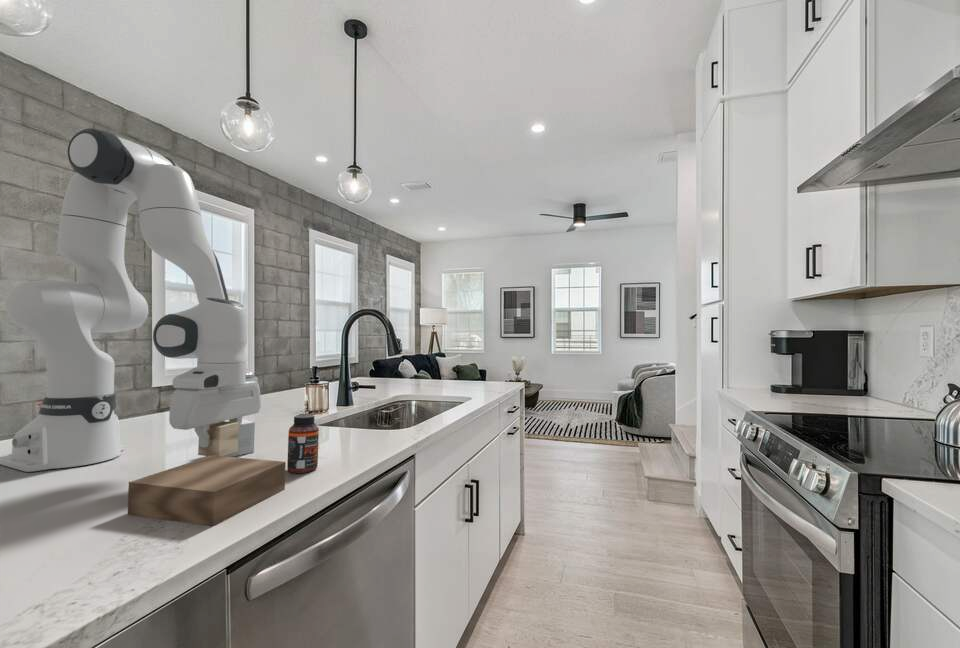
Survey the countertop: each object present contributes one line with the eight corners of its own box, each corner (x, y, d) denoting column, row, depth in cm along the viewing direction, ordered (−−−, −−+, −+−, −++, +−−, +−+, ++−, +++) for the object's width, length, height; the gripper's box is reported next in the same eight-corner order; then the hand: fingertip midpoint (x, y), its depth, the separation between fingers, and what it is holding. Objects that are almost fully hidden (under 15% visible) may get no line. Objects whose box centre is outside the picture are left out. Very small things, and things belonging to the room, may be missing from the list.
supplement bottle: (307, 475, 88) (308, 419, 89) (280, 473, 90) (282, 417, 90) (323, 466, 94) (324, 413, 95) (298, 464, 95) (299, 412, 96)
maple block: (198, 455, 89) (199, 425, 89) (217, 448, 94) (219, 420, 94) (218, 457, 88) (220, 427, 88) (237, 451, 93) (239, 422, 93)
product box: (254, 452, 105) (255, 421, 105) (227, 458, 100) (228, 425, 100) (242, 448, 108) (243, 418, 108) (215, 453, 103) (216, 422, 103)
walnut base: (127, 514, 68) (128, 482, 68) (211, 481, 84) (212, 455, 84) (213, 526, 65) (214, 491, 65) (284, 489, 80) (285, 461, 80)
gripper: (245, 371, 102) (243, 430, 102) (164, 379, 82) (161, 453, 82) (269, 372, 101) (266, 433, 100) (192, 381, 81) (189, 457, 80)
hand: (218, 442), depth 91 cm, fingers closed on maple block, 5 cm apart
